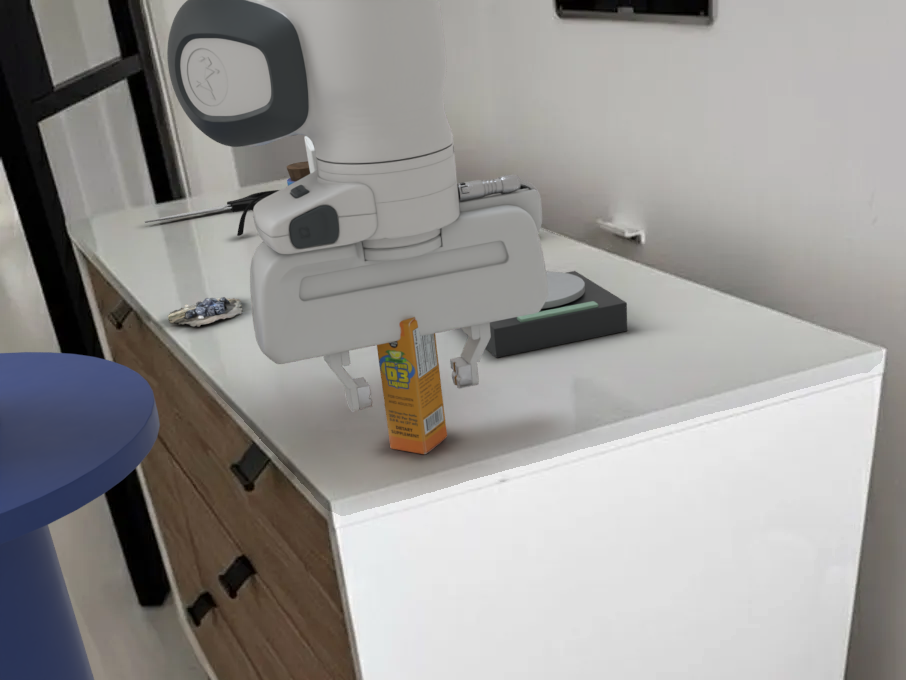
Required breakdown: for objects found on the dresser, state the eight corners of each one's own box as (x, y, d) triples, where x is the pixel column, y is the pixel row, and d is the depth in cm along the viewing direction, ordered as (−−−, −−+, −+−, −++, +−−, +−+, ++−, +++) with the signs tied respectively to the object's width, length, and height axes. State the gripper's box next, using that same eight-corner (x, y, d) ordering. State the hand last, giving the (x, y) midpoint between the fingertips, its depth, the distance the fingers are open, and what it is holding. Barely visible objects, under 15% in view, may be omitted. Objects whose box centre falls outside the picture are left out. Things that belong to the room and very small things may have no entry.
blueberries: (155, 327, 117) (150, 309, 116) (207, 294, 123) (203, 276, 122) (209, 337, 114) (205, 318, 113) (260, 302, 120) (256, 284, 119)
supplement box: (385, 450, 87) (367, 314, 82) (412, 432, 90) (396, 299, 84) (424, 457, 86) (408, 319, 80) (450, 438, 88) (436, 303, 83)
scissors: (152, 231, 149) (305, 202, 156) (151, 224, 149) (304, 195, 155) (140, 221, 154) (288, 193, 161) (138, 214, 154) (287, 186, 161)
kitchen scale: (496, 358, 101) (493, 319, 99) (454, 321, 110) (451, 285, 109) (627, 331, 104) (626, 293, 102) (576, 297, 113) (574, 261, 111)
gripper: (521, 161, 84) (533, 353, 91) (228, 211, 79) (265, 409, 86) (557, 178, 78) (566, 380, 86) (245, 232, 74) (283, 441, 81)
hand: (413, 395), depth 86 cm, fingers open, 6 cm apart
